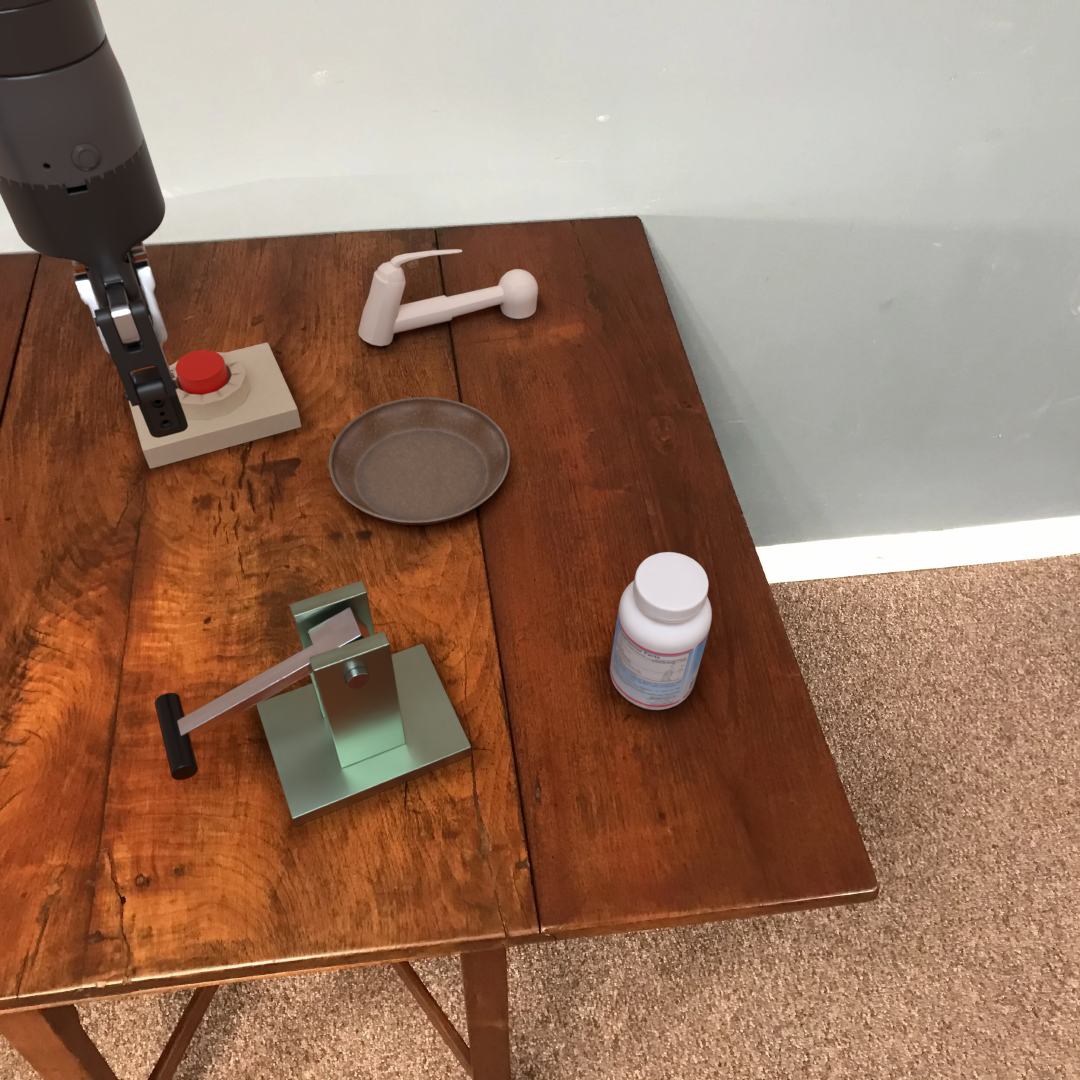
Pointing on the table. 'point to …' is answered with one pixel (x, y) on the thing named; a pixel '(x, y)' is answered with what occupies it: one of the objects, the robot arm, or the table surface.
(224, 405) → the button box
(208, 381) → the button
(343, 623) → the tap handle
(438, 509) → the saucer
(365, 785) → the bracket
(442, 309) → the faucet
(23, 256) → the table surface
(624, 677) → the pill bottle
